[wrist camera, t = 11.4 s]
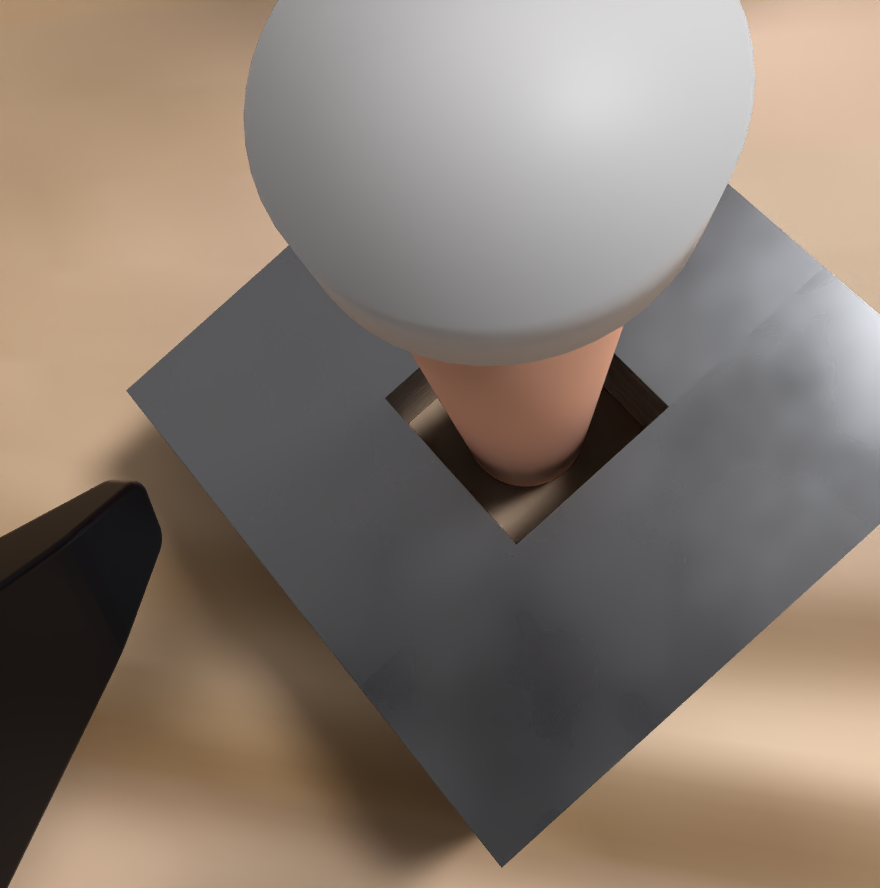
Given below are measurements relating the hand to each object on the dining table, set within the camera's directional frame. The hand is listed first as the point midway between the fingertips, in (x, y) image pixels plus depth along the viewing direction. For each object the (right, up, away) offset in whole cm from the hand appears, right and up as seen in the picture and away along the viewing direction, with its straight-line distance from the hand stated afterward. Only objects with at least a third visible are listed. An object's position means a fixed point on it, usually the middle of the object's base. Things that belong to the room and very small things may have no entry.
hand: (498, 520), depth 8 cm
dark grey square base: (+2, +1, +11) cm, 11 cm away
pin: (+2, +1, +11) cm, 11 cm away
